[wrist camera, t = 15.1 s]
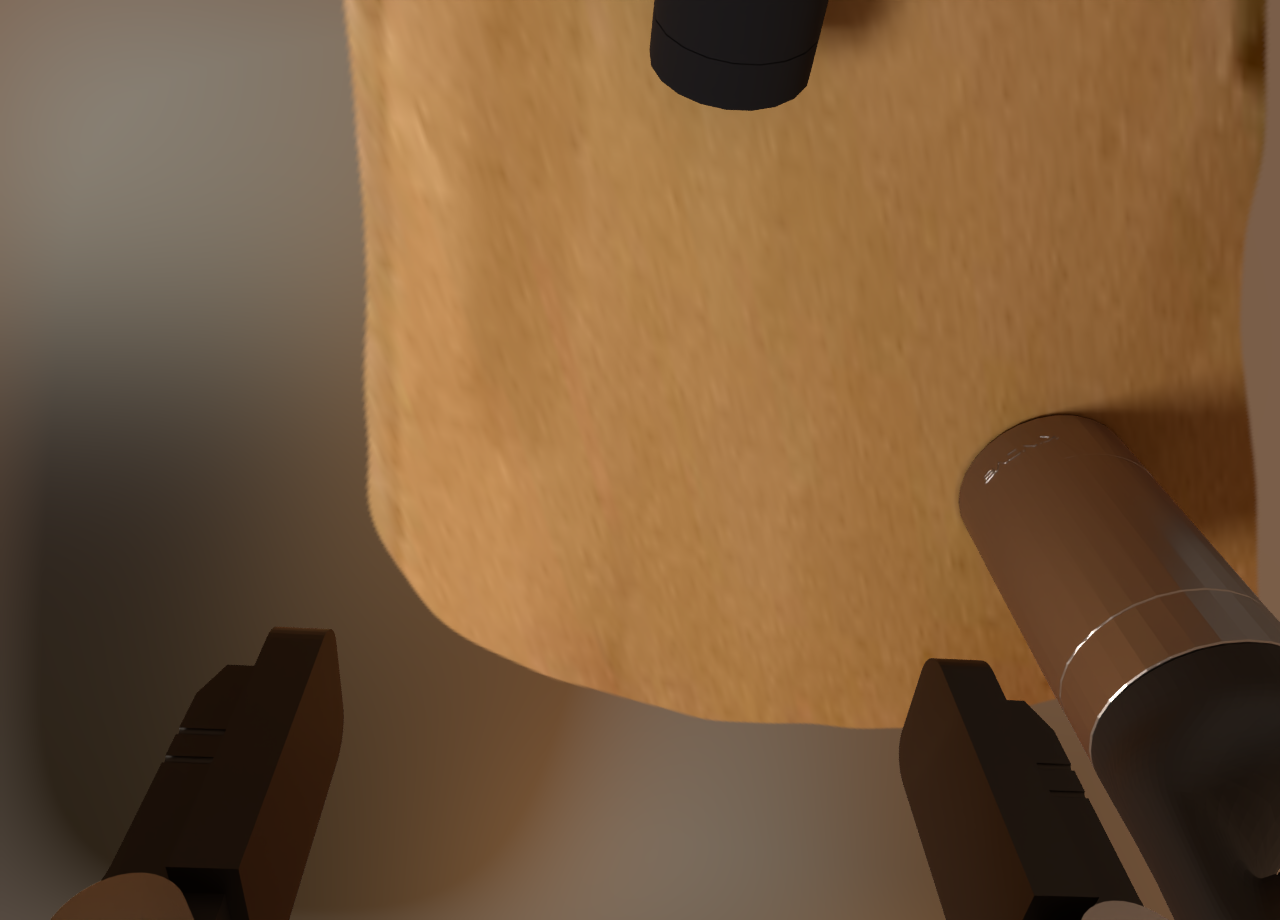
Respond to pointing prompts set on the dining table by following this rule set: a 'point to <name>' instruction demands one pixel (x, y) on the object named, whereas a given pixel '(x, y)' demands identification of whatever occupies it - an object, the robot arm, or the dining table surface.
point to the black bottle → (736, 49)
